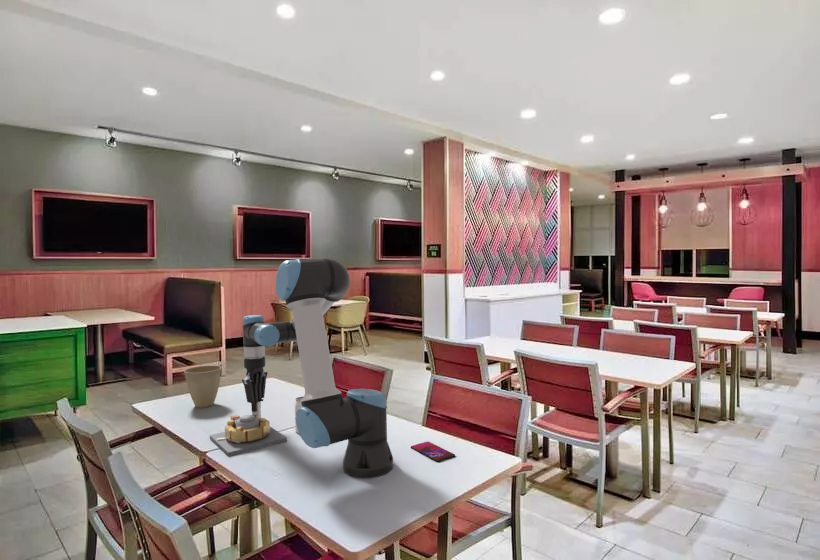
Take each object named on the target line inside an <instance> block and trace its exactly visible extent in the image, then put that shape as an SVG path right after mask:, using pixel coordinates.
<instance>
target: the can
mask: <svg viewBox="0 0 820 560" xmlns="http://www.w3.org/2000/svg"><path fill="white" fill-rule="evenodd" d="M303 397H304V396H298V397H296V398H295V401H294V430H295V432H296V434H299V432H298V429H297V425H296V412H297V410H298V409H299V408H300V407H302V404H301V400H302V398H303Z"/></svg>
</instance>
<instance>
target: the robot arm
mask: <svg viewBox="0 0 820 560" xmlns="http://www.w3.org/2000/svg"><path fill="white" fill-rule="evenodd" d="M274 284H275V293H276V295H277V297H278V299H279V300H281V301H284V302H285V307H286V308H287V309H288V310H290V311H291V312H292V317H293V318H292V320H286V321H277V322H266V323H265V318H264V316H263V315H262V314H261V315H260V314H250V315H249V314H248V315H245V316H243V318H242V327H241V328H242V338H243V341H242V342H243V357H244V358H243V367H244V369H246V376H245V378H242V380H241V382H242V384H243V387H244V392H245V396H246V397H245V398H246V401H247V403H251V404H250V405H251V415H258V418H262V415H261V413H262V412H261V408H262V406H261V403H262V402H263V401H264V398H265V395H266V394H265V393H266V384H267V383H266V382H267V376H268V371H264V367H266V357H265V355H266V347H272V346H274V345H276V344H281V343H287V342H289V343H290V342H297V349H298V355H299V361H300V368H301V369H300V370H301V374H302V381H303V386H304V387H303V389H304V397H303V396H302V397H303V398H302V400H301V404H302V407H300V408H299V409H298V410H297V412H296V425H297V429H298V432H299V433H298V434H299V436H300V438H301V440H302V441H303V443H304V444H305V445H306V446H308V447H309V448H311V449H317V448H322V447H323V448H324V447H328V446H330V445H333V444H336V443H340V442H343V441H344V442H345V441H347V445H346V450H345V453H344V456H343V459H342V469H343V472H344V473H345V474H346V475H348V476H351V477H355V478H364V479H365V478H368V479H369V478H376V477H380V476H383V475H386V474H388V473H389V472H391V471H392V470H393V468H394V456H393V453H392V451H391V449H390V445H389V442H388V428H387V427H388V426H387V425H388V423H387V409H388V406H387V398H386V395H385V394H384V393H383V392H382V391H379V390H376V389H370V388H352V389H348V391H347V392H346V397H344V398H343V393H342V391H341V390H339V389H338V388H337V387H336V384H335V383H336V382H335V377H334V371H333V366H332V361H331V360H332V359H331V354H330V349H329V348H330V347H329V341H328V336H327V335H328V334H327V331H326V324H325V318H324V315H325V314H326V313H327V312H328V311H329V309H330V308H331V307H332V306H333V305H334V304H335V303H336V302H337V303H338V302H340V301H341V300H342V299H343V298H344V297H345V295H346V294H347V293H348V292H349V289H350V285H351V277H350V273H349V271H348V269H347V268H346V267H345V266H344V264H343V263H342V262H340V261H338V260H335V259H332V258H296V259H286V260H285V261H283V262H281V264H280V265H279V266H278V270H277V272H276V276H275V283H274Z"/></svg>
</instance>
